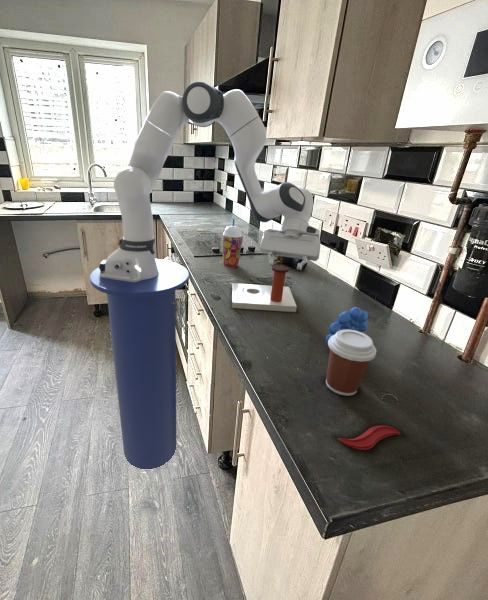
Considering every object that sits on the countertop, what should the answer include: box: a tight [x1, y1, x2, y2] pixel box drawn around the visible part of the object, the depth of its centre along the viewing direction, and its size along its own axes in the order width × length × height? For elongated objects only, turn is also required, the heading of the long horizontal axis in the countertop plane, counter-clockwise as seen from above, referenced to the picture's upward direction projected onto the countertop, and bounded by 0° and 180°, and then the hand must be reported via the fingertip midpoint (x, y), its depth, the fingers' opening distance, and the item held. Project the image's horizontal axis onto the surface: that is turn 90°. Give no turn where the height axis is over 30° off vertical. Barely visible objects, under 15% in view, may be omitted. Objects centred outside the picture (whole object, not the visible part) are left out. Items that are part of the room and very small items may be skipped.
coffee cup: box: [325, 329, 378, 397], centre depth 67 cm, size 9×9×12 cm
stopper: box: [270, 264, 290, 302], centre depth 101 cm, size 5×5×11 cm
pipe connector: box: [273, 255, 308, 271], centre depth 141 cm, size 12×5×15 cm
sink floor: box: [231, 283, 298, 313], centre depth 108 cm, size 20×16×2 cm
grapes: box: [325, 306, 369, 345], centre depth 80 cm, size 12×7×12 cm, turn 109°
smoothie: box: [222, 218, 244, 269], centre depth 134 cm, size 8×8×20 cm
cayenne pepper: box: [337, 425, 401, 451], centre depth 56 cm, size 12×5×2 cm, turn 93°
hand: (284, 266), depth 108 cm, fingers open, 8 cm apart
